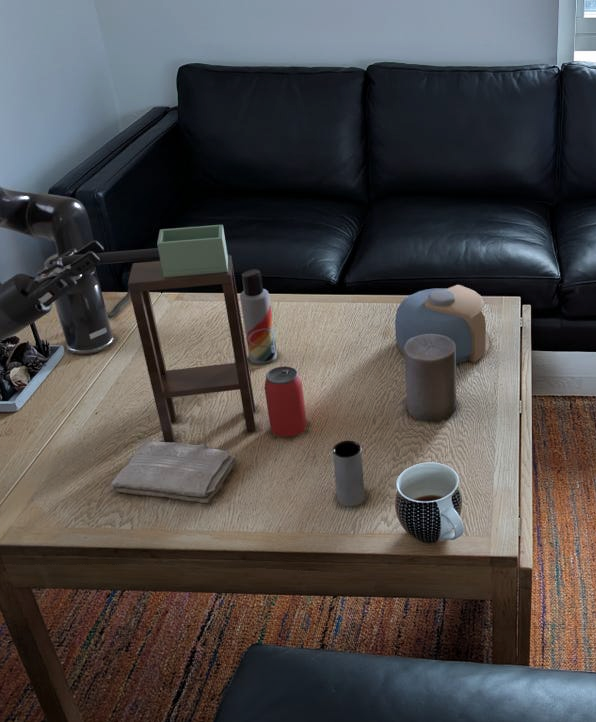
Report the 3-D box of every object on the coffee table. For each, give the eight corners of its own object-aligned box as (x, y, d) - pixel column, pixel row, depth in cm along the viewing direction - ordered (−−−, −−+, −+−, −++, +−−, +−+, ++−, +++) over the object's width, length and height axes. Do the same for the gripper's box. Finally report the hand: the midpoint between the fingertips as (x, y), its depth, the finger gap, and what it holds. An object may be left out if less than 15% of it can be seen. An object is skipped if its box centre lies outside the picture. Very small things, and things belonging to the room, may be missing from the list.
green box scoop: (71, 271, 137) (61, 237, 134) (228, 257, 142) (222, 224, 139) (64, 286, 132) (55, 252, 129) (227, 272, 137) (222, 238, 134)
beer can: (313, 422, 156) (307, 368, 149) (295, 442, 150) (288, 387, 144) (282, 415, 157) (275, 361, 151) (264, 435, 152) (255, 380, 146)
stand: (167, 418, 156) (132, 263, 140) (255, 407, 160) (231, 254, 143) (164, 443, 150) (127, 283, 133) (255, 431, 153) (230, 274, 136)
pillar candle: (464, 400, 163) (465, 334, 155) (442, 427, 155) (441, 358, 147) (420, 388, 166) (419, 323, 158) (396, 414, 158) (393, 346, 151)
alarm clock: (495, 364, 174) (496, 313, 168) (399, 371, 171) (397, 319, 165) (481, 320, 190) (481, 272, 184) (393, 326, 188) (391, 278, 181)
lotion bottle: (270, 366, 172) (258, 279, 162) (244, 362, 173) (231, 276, 163) (281, 352, 177) (270, 267, 167) (256, 349, 178) (243, 264, 168)
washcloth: (212, 506, 136) (209, 491, 134) (108, 495, 138) (104, 480, 136) (240, 461, 146) (237, 447, 144) (143, 451, 148) (140, 437, 146)
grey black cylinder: (338, 489, 139) (333, 440, 134) (365, 488, 140) (361, 439, 134) (336, 507, 136) (331, 458, 130) (364, 506, 136) (360, 456, 131)
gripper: (-18, 310, 126) (73, 250, 125) (3, 271, 138) (87, 216, 137) (20, 345, 131) (109, 286, 129) (38, 304, 142) (120, 250, 141)
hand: (97, 250), depth 133 cm, fingers open, 3 cm apart
